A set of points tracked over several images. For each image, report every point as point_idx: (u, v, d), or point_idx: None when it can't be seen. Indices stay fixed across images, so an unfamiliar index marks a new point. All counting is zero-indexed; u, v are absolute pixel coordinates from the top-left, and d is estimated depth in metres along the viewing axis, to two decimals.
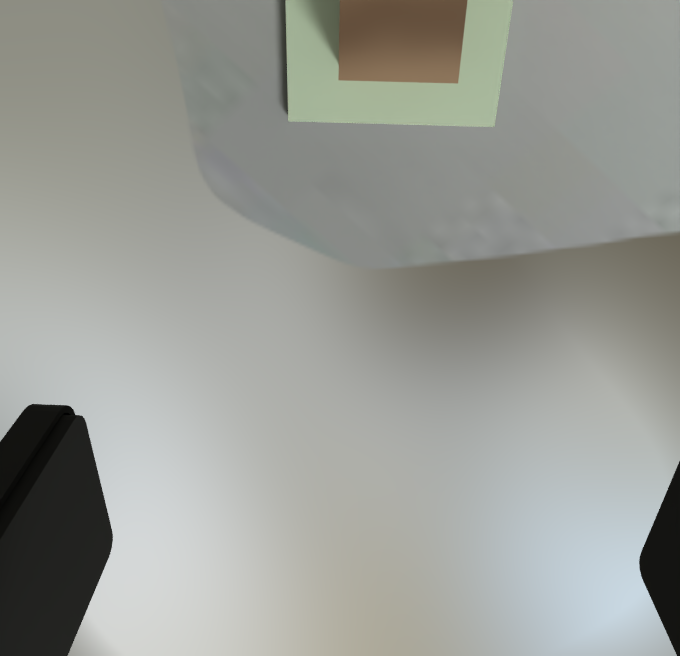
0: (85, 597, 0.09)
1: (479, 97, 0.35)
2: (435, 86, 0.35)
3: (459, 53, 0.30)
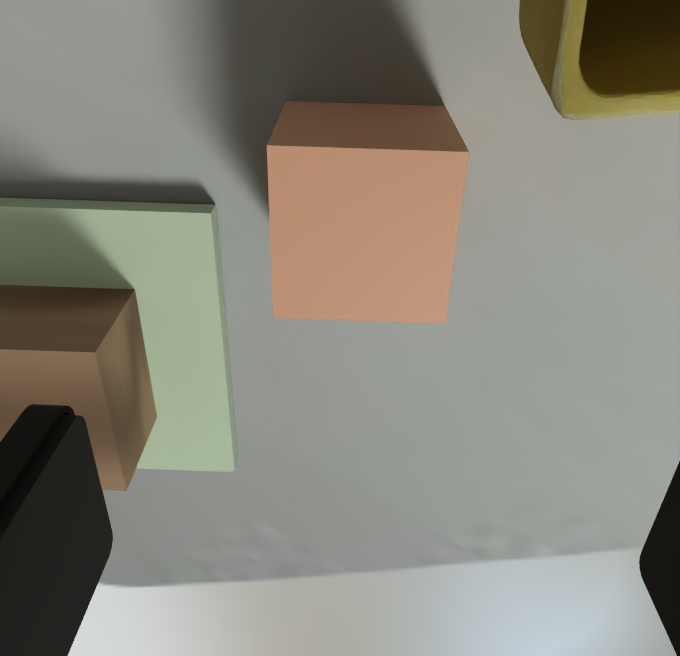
0: (85, 597, 0.09)
1: (206, 443, 0.26)
2: None
3: (117, 462, 0.21)
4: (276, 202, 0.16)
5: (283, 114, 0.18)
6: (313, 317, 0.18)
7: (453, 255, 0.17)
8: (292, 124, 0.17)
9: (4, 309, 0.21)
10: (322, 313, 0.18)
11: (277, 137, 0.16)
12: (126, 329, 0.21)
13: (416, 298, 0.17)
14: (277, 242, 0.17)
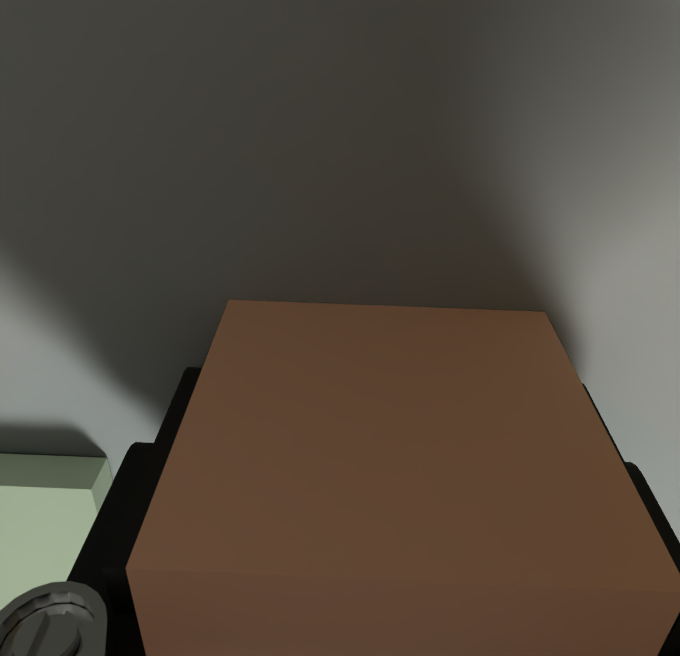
0: None
1: None
2: None
3: None
4: None
5: (210, 365, 0.08)
6: None
7: None
8: (221, 419, 0.07)
9: None
10: None
11: (168, 506, 0.06)
12: None
13: None
14: None
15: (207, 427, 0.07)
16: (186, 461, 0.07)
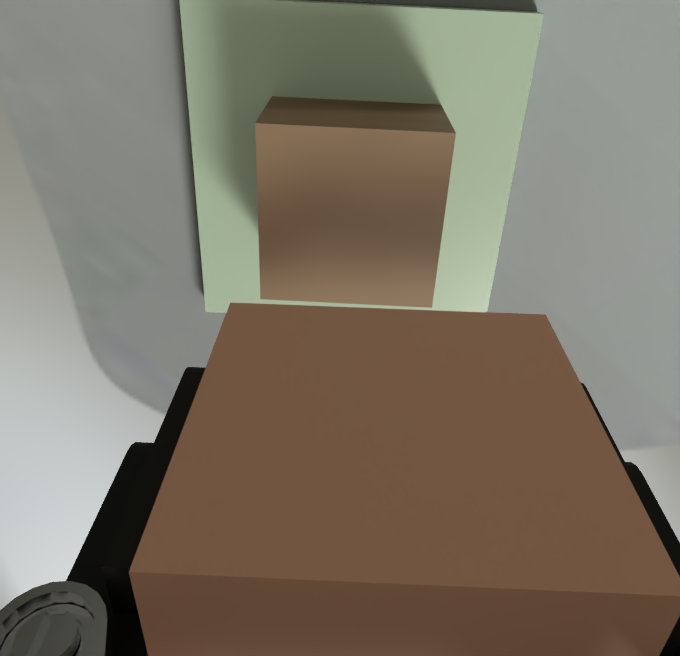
0: None
1: (464, 291, 0.26)
2: None
3: (433, 272, 0.21)
4: None
5: (212, 368, 0.08)
6: None
7: None
8: (223, 423, 0.07)
9: (328, 109, 0.20)
10: None
11: (170, 510, 0.06)
12: None
13: None
14: None
15: (209, 430, 0.07)
16: (188, 465, 0.07)
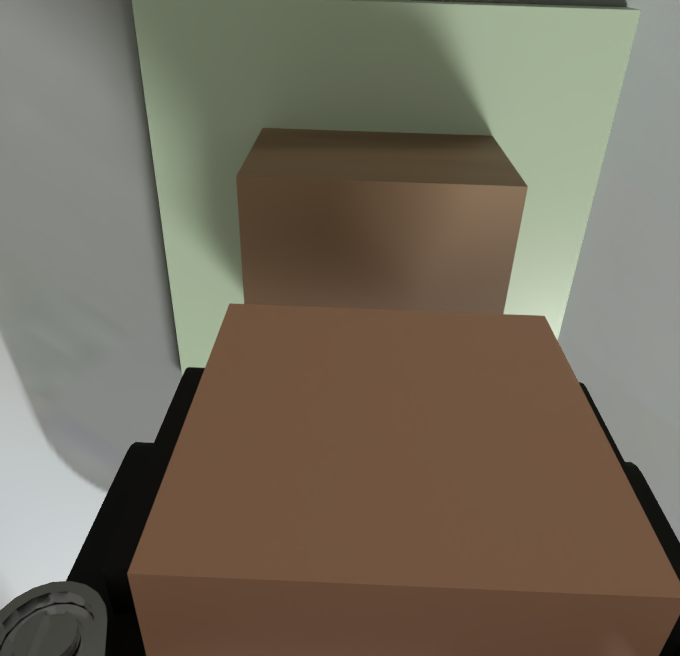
0: None
1: None
2: None
3: None
4: None
5: (211, 369, 0.08)
6: None
7: None
8: (222, 424, 0.07)
9: (341, 148, 0.15)
10: None
11: (169, 511, 0.06)
12: None
13: None
14: None
15: (208, 432, 0.07)
16: (187, 466, 0.07)
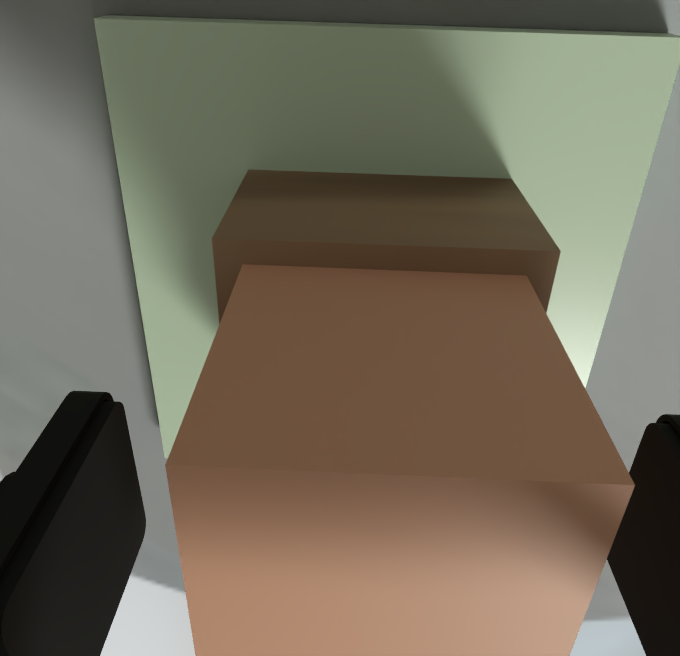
0: (122, 578, 0.10)
1: None
2: None
3: None
4: (196, 557, 0.07)
5: (228, 316, 0.09)
6: None
7: (571, 641, 0.08)
8: (240, 357, 0.08)
9: (337, 197, 0.13)
10: None
11: (197, 421, 0.07)
12: None
13: None
14: (203, 615, 0.08)
15: (228, 363, 0.08)
16: (211, 388, 0.08)
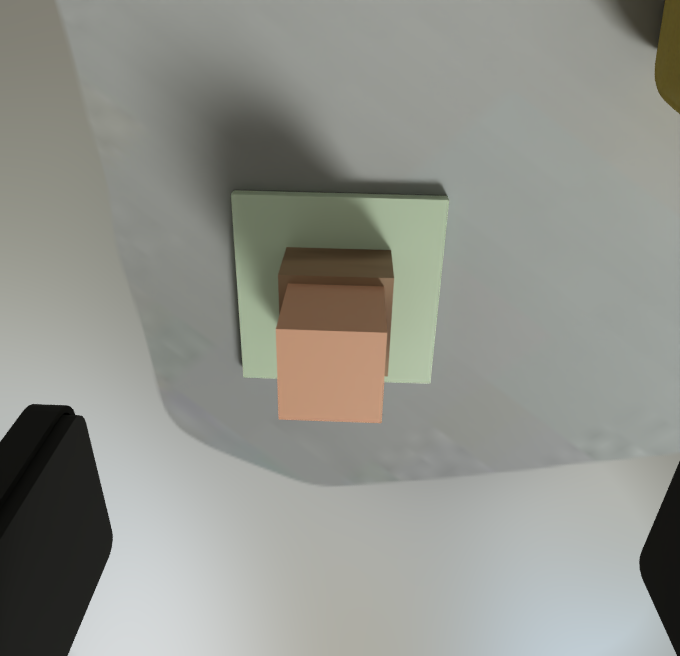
0: (85, 597, 0.09)
1: (414, 361, 0.39)
2: None
3: (387, 355, 0.34)
4: (280, 357, 0.28)
5: (285, 298, 0.30)
6: (303, 419, 0.30)
7: (383, 385, 0.29)
8: (290, 308, 0.29)
9: (321, 259, 0.34)
10: (308, 416, 0.30)
11: (281, 321, 0.28)
12: None
13: (363, 408, 0.29)
14: (281, 378, 0.29)
15: (287, 309, 0.29)
16: (283, 315, 0.29)
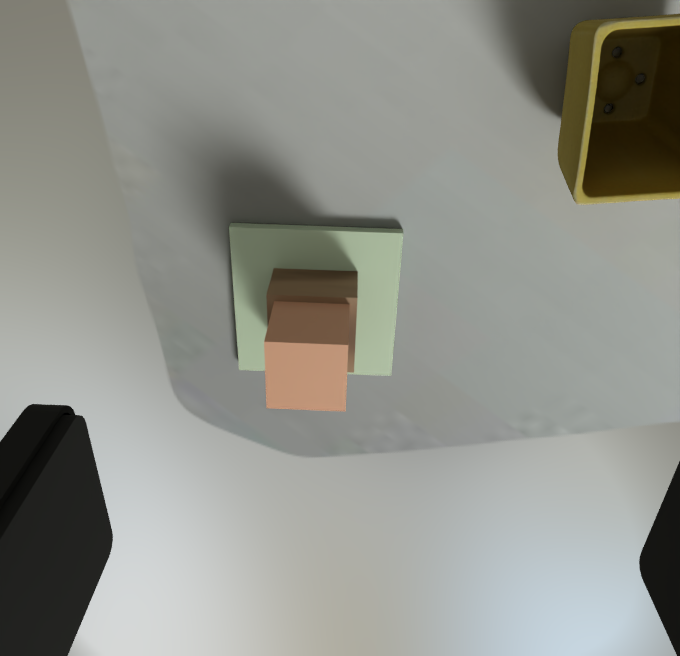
0: (85, 597, 0.09)
1: (378, 358, 0.48)
2: None
3: (353, 356, 0.43)
4: (268, 362, 0.37)
5: (272, 315, 0.39)
6: (285, 408, 0.39)
7: (346, 383, 0.38)
8: (275, 324, 0.38)
9: (301, 279, 0.42)
10: (289, 406, 0.39)
11: (268, 335, 0.37)
12: None
13: (331, 400, 0.39)
14: (268, 377, 0.38)
15: (273, 325, 0.38)
16: (270, 329, 0.38)
